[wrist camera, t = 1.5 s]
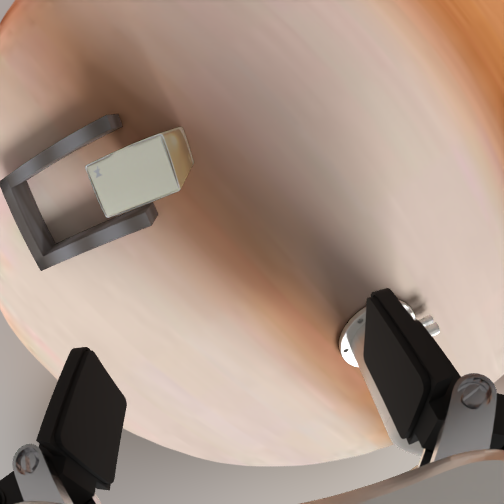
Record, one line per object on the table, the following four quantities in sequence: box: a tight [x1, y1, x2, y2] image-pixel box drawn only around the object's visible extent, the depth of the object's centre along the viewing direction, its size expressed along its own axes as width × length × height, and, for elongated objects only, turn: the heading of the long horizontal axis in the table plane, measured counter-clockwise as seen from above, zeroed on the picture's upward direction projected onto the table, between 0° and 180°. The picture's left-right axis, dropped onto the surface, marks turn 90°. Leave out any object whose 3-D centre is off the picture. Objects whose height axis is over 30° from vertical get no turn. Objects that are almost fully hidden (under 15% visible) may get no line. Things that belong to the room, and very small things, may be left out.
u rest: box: [0, 114, 158, 271], centre depth 30 cm, size 16×12×4 cm
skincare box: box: [85, 127, 194, 218], centre depth 25 cm, size 6×4×12 cm
